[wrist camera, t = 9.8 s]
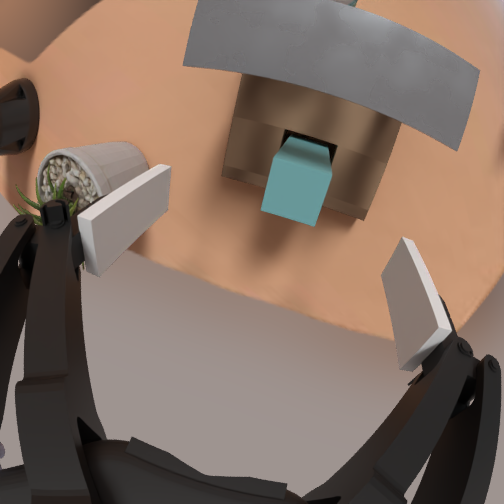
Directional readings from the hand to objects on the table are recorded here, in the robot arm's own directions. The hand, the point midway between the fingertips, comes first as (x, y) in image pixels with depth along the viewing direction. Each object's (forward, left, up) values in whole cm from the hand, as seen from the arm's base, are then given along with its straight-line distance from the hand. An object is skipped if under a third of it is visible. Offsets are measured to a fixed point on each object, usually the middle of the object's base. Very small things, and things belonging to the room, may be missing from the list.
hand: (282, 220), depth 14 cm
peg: (0, 0, -17) cm, 17 cm away
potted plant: (-23, -8, -17) cm, 29 cm away
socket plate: (0, +4, -17) cm, 17 cm away
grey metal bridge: (0, +10, -17) cm, 19 cm away
